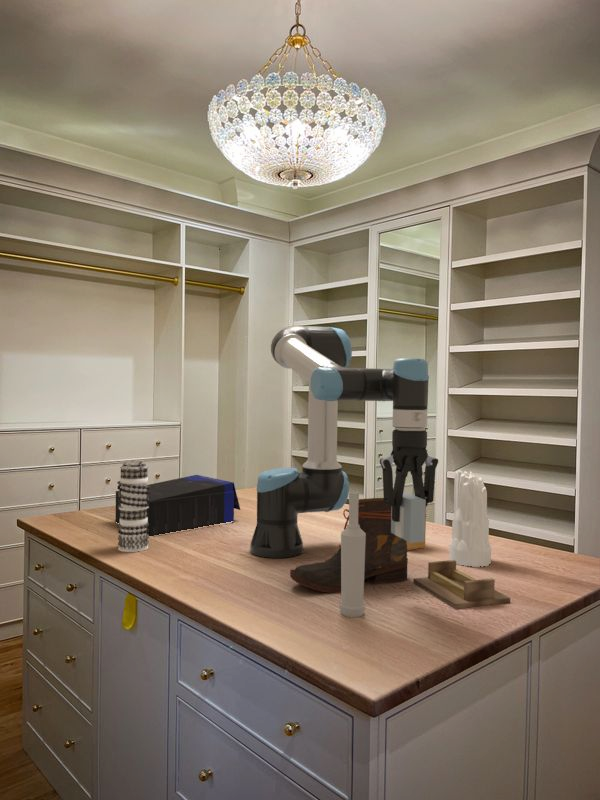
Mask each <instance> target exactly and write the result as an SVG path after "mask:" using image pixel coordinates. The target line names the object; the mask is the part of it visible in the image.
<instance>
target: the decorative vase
mask: <svg viewBox="0 0 600 800" xmlns="http://www.w3.org/2000/svg"><path fill="white" fill-rule="evenodd" d="M454 473H455V474H454V481H453V482H454V483H453V489H454V490H453V518H452V523H451V527H452V528H451V531H452V532H451V540H450V544H449V556H448V557H449V558H448V560H455V561H456V565H457V564H459V566H461V565H464V566H463V567H467V566H469V567H470V566H472V567H471V568H484V567H483V566H486V567H488V566H490V565H491V562H492V546H491V543H490V541H489V534H490V530H489V529H490V520H489V516H488V490H487V488H486V486H485V484H484V479H483V478H482V477H478V476H476V475H474V473H473V472H472V471H469V473H468V471H465V470H464V471H462V470H461V469H457V470H456V471H455V472H454ZM489 564H490V565H489ZM480 566H481V567H480Z"/></svg>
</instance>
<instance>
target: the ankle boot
mask: <svg viewBox="0 0 600 800" xmlns="http://www.w3.org/2000/svg"><path fill="white" fill-rule="evenodd" d="M346 512H347V513H349V509H346V508H345V509H343V514H342V515H343V516H344V519H346V521H345V522H344V523H345V524H344V527H343V531H344V530H345V529H346V528H347V525H348V524H349V514H348V516H347V517H346ZM358 525H360V528H361V529H362V530H363V531H364V532H365V533H366V541H365V570H364V580H366V581H367V582H369V583H371V585H373V586H376V585H377V586H379V585H388V584H397V583H398V582H399V583H403V582H406V581H407V580H408V562H409V559H408V550H407V543H406V540H404V539H402V538H400V537H398V536H396V535H395V534H393V533H391V505H390V504H387V503H385V502H384V497H373V498H372V497H369V498H359V502H358ZM337 546H338V548H339V549H338V550H337V552H335V553H334V555H333V556H332V557H330V558H328V559H327V560H325V561H323V562H315V563H308V564H300V565H298V566H296V567H295V568H294V569H293V568H291V569H290V573H289V574H290V578H291V579H292V580H293V581H294V582H296V583H298V584H299V585H302V586H304V587H305V588H308V589H311V590H315V591H317V592H323V593H329V594H330V593H332V594H334V593H335V594H337V593H341V544H338V545H337Z"/></svg>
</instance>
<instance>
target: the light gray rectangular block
mask: <svg viewBox="0 0 600 800" xmlns="http://www.w3.org/2000/svg"><path fill="white" fill-rule="evenodd" d="M401 507H404V538H402V539H404V540H406V541H408V542H410V543H414V542H425V543H426V533H425V507H426V508H427V506H426V500H425V499H422V498H420V497H417V496H415V494H411V493H408V492H406V491H405V492H404V491H403V497H402V503H401ZM391 533H393V534H395V521H393V520H392V506H391Z"/></svg>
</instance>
